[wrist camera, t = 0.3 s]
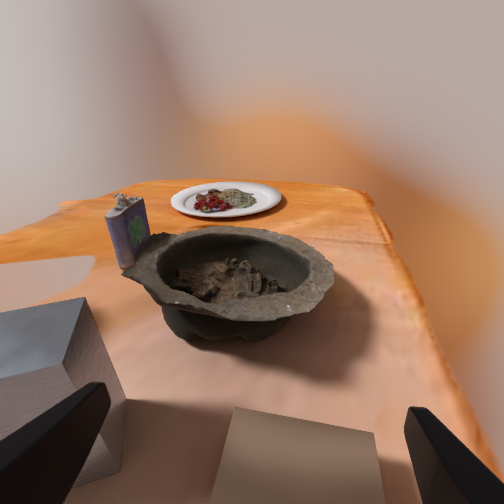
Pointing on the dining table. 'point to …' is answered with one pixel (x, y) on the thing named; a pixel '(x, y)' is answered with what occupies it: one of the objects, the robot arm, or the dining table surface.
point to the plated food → (226, 199)
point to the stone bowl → (230, 280)
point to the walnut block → (296, 463)
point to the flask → (127, 228)
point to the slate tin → (58, 374)
